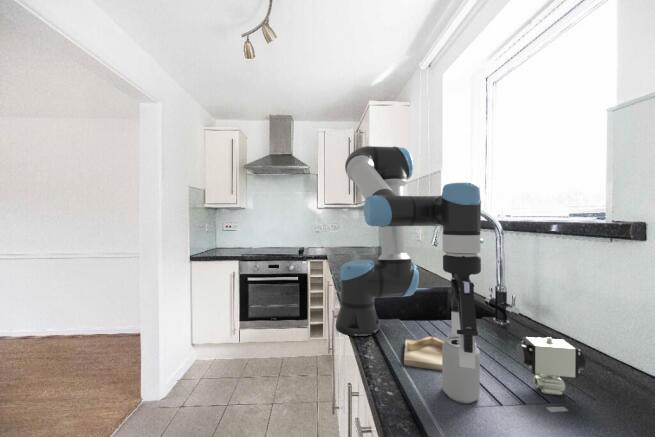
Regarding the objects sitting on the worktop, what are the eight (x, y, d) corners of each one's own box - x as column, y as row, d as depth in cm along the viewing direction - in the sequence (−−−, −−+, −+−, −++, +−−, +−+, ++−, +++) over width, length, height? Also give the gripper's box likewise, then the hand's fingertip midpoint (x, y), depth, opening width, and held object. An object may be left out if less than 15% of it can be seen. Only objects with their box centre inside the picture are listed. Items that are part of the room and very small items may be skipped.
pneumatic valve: (586, 400, 62) (586, 344, 62) (524, 393, 64) (525, 339, 64) (570, 385, 67) (570, 333, 67) (514, 379, 70) (514, 330, 69)
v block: (405, 344, 89) (405, 332, 89) (459, 350, 85) (459, 338, 84) (404, 365, 76) (404, 351, 76) (466, 374, 72) (466, 360, 72)
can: (448, 381, 69) (448, 330, 69) (483, 393, 64) (483, 339, 64) (437, 396, 63) (437, 341, 63) (475, 410, 59) (475, 351, 59)
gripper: (495, 263, 50) (496, 385, 50) (470, 248, 74) (470, 332, 74) (448, 261, 53) (449, 379, 52) (438, 248, 76) (439, 329, 76)
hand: (462, 351), depth 63 cm, fingers open, 13 cm apart
